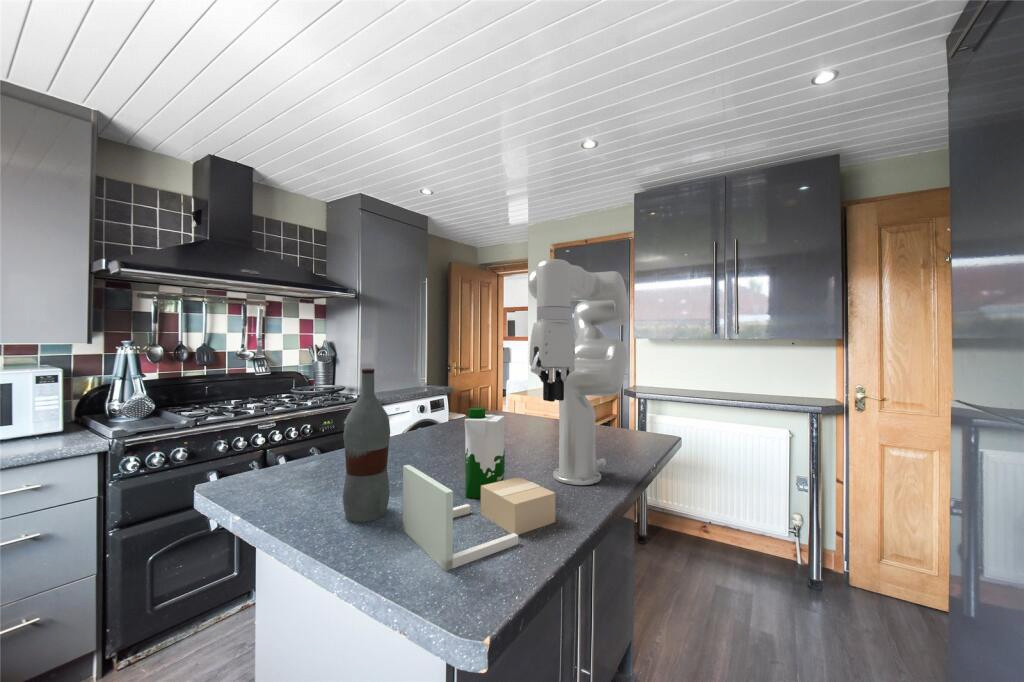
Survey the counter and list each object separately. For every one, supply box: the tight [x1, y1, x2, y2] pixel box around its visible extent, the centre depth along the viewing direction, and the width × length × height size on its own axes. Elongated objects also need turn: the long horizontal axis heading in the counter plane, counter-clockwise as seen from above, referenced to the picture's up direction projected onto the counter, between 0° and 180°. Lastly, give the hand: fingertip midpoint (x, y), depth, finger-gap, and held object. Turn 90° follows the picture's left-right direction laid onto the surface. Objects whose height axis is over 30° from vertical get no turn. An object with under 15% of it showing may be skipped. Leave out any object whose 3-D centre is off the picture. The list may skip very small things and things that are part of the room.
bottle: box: [342, 367, 391, 523], centre depth 82 cm, size 9×9×30 cm
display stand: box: [402, 464, 519, 572], centre depth 72 cm, size 14×17×12 cm
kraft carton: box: [480, 476, 556, 536], centre depth 80 cm, size 10×12×6 cm
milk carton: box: [463, 406, 506, 500], centre depth 93 cm, size 9×9×20 cm
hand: (553, 399), depth 87 cm, fingers closed
